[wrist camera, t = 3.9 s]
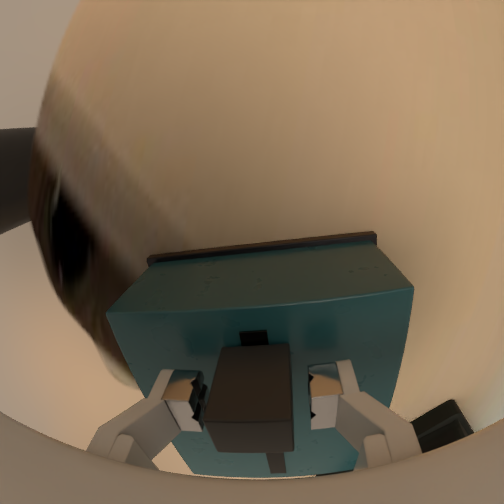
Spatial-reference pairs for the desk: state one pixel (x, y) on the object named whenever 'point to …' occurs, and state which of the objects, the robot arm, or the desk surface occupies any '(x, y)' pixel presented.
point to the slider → (252, 400)
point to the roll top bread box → (437, 428)
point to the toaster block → (270, 331)
